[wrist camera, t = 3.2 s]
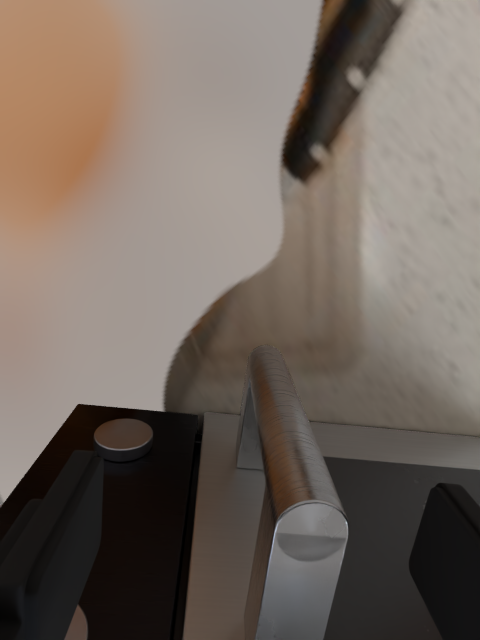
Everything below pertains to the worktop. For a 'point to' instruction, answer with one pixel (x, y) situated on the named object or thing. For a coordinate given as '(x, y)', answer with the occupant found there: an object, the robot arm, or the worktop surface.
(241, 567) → the microwave door
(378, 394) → the worktop surface
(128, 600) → the microwave
